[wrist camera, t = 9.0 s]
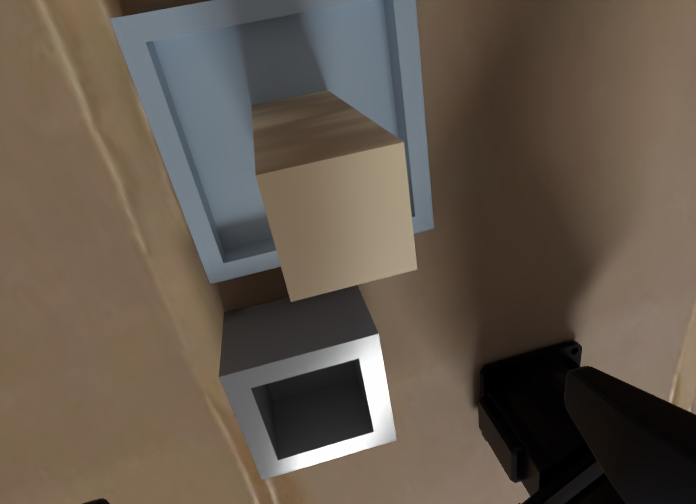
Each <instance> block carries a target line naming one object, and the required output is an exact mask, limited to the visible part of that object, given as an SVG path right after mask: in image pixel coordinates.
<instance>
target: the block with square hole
mask: <svg viewBox="0 0 696 504" xmlns="http://www.w3.org/2000/svg"><path fill="white" fill-rule="evenodd" d="M219 378H220V381H221V383H222V386H223V388H224V390H225V393H226V395H227V397H228V400H229V402H230V405H231V407H232V409H233V412H234V414H235V417H236V419H237V421H238V424H239V426H240V429H241V431H242V433H243V436H244V438H245V441H246V443H247V445H248V448H249V450H250V453H251V455H252V457H253V460H254V462H255V464H256V467H257V469H258V472H259V474H260V476H261V479H262V480H264V479H268V478H271V477H274V476H278V475H281V474H284V473H288V472H291V471H294V470H298V469H301V468H304V467H308V466H311V465H314V464H318V463H321V462H324V461H328V460H331V459H335V458H338V457H341V456H345V455H348V454H351V453H355V452H358V451H361V450H365V449H368V448H371V447H375V446H378V445H381V444H385V443H388V442H391V441H395V440H397V439H396V433H395V427H394V422H393V416H392V410H391V404H390V398H389V392H388V386H387V380H386V374H385V368H384V363H383V357H382V351H381V345H380V339H379V334H378V331H377V329H376V327H375V324H374V322H373V320H372V318H371V315H370V313H369V311H368V309H367V306H366V304H365V302H364V299H363V297H362V295H361V293H360V290H359V288H358V286H357V285H355V286H351V287H347V288H343V289H340V290H336V291H332V292H328V293H324V294H320V295H316V296H312V297H308V298H305V299H301V300H297V301H293V302H291V301H290V297H286V298H282V299H278V300H274V301H270V302H266V303H262V304H259V305H255V306H251V307H247V308H243V309H239V310H235V311H231V312H227V313H224V323H223V335H222V347H221V359H220V371H219Z"/></svg>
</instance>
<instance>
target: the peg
mask: <svg viewBox="0 0 696 504" xmlns="http://www.w3.org/2000/svg"><path fill="white" fill-rule="evenodd" d="M251 106H252V123H253V140H254V157H255V174H256V179H257V182H258V186H259V190H260V193H261V197H262V200H263V204H264V207H265V211H266V215H267V218H268V222H269V225H270V229H271V233H272V236H273V240H274V243H275V247H276V251H277V254H278V258H279V261H280V265H281V268H282V272H283V276H284V279H285V283H286V286H287V290H288V294H289V297H290V301H291V302H293V301H297V300H301V299H305V298H308V297H312V296H316V295H320V294H324V293H328V292H332V291H336V290H340V289H343V288H347V287H351V286H355V285H359V284H363V283H367V282H371V281H375V280H378V279H382V278H386V277H390V276H394V275H398V274H402V273H406V272H410V271H413V270H417V262H416V252H415V243H414V233H413V224H412V214H411V205H410V195H409V185H408V176H407V166H406V157H405V147H404V142H403V141H402V140H400V139H399V138H397V137H396V136H394V135H393V134H391V133H390V132H388V131H387V130H385V129H384V128H382V127H381V126H380V125H378V124H377V123H375V122H374V121H372V120H371V119H369V118H368V117H366V116H365V115H363V114H362V113H360V112H359V111H358V110H356V109H355V108H353V107H352V106H350V105H349V104H347V103H346V102H344V101H343V100H341V99H340V98H338V97H337V96H336V95H334V94H333V93H331V92H330V91H328V90H324V91H319V92H314V93H309V94H304V95H300V96H295V97H290V98H285V99H280V100H275V101H271V102H266V103H261V104H256V105H251Z"/></svg>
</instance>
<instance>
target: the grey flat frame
mask: <svg viewBox="0 0 696 504" xmlns="http://www.w3.org/2000/svg"><path fill="white" fill-rule="evenodd" d="M110 21H111V24H112V26H113V29H114V32H115V34H116V37H117V39H118V42H119V45H120V47H121V50H122V53H123V55H124V58H125V61H126V63H127V66H128V69H129V71H130V74H131V76H132V79H133V82H134V84H135V87H136V90H137V92H138V95H139V98H140V100H141V103H142V105H143V108H144V111H145V113H146V116H147V119H148V121H149V124H150V127H151V129H152V132H153V135H154V137H155V140H156V142H157V145H158V148H159V150H160V153H161V156H162V158H163V161H164V164H165V166H166V169H167V172H168V174H169V177H170V179H171V182H172V185H173V187H174V190H175V193H176V195H177V198H178V201H179V203H180V206H181V208H182V211H183V214H184V216H185V219H186V222H187V224H188V227H189V230H190V232H191V235H192V238H193V240H194V243H195V245H196V248H197V251H198V253H199V256H200V259H201V261H202V264H203V267H204V269H205V272H206V274H207V277H208V280H209V282H210V284H213V283H217V282H221V281H225V280H229V279H233V278H237V277H241V276H245V275H249V274H253V273H257V272H261V271H265V270H270V269H274V268H278V267H281V265H280V261H279V258H278V254H277V251H276V247H275V243H274V240H273V236H272V233H271V229H270V225H269V222H268V218H267V215H266V211H265V207H264V204H263V200H262V197H261V193H260V190H259V186H258V182H257V179H256V174H255V157H254V140H253V123H252V106H251V105H256V104H261V103H266V102H271V101H275V100H280V99H285V98H290V97H295V96H300V95H304V94H309V93H314V92H319V91H324V90H328V91H330V92H331V93H333V94H334V95H336V96H337V97H338V98H340V99H341V100H343V101H344V102H346V103H347V104H349V105H350V106H352V107H353V108H355V109H356V110H358V111H359V112H360V113H362V114H363V115H365V116H366V117H368V118H369V119H371V120H372V121H374V122H375V123H377V124H378V125H380V126H381V127H382V128H384V129H385V130H387V131H388V132H390V133H391V134H393V135H394V136H396V137H397V138H399V139H400V140H402V141H403V142H404V147H405V157H406V166H407V176H408V185H409V195H410V205H411V214H412V224H413V233H418V232H422V231H426V230H430V229H434V222H433V209H432V197H431V185H430V172H429V160H428V147H427V135H426V122H425V110H424V97H423V85H422V73H421V60H420V48H419V35H418V23H417V10H416V0H211V1H206V2H200V3H195V4H189V5H184V6H178V7H173V8H167V9H162V10H156V11H151V12H145V13H139V14H134V15H128V16H123V17H117V18H112V19H110Z"/></svg>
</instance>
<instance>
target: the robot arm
mask: <svg viewBox="0 0 696 504" xmlns="http://www.w3.org/2000/svg"><path fill="white" fill-rule="evenodd" d="M581 353H582V346H581V345H580V344H579V343H577V342H576V341H574V340H573V341H568V342H565V343H561V344H558V345H554V346H551V347H547V348H544V349H541V350H537V351H534V352H530V353H527V354H523V355H520V356H516V357H513V358H509V359H506V360H502V361H499V362H495V363H492V364H488V365H486V366H484V367H483V368H482V369H481V371H480V384H481V397H480V398H479V401H478V411H479V428H480V429H481V431H482V435H483V437H484V439H485V440H486V441H488V443H489V445H490V446H491V448H492V450H493V451H494V453H495V455H496V457H497V458H498V460H499V462H500V463H501V465H502V467H503V468H504V470H505V472H506V473H507V475H508V477H509V478H510V480H511V481H513V482H515V483H517V482H520V481H521V482H522V483H523V485H524V487H525V488H526V490H527V491H528V493H529V495H530V496H531V497H529V498H528V499H527V500H526V501H524V502H523V503H522V504H696V415H695V414H693V413H691V412H689V411H687V410H684V409H682V408H680V407H678V406H676V405H674V404H671V403H669V402H667V401H665V400H663V399H661V398H658V397H656V396H654V395H652V394H650V393H648V392H645V391H643V390H641V389H639V388H637V387H635V386H632V385H630V384H628V383H626V382H624V381H622V380H619V379H617V378H615V377H613V376H611V375H608V374H606V373H604V372H602V371H600V370H598V369H595V368H593V367H590V366H583V367H580V362H581ZM83 504H109V502H108V501H107V500H105V499H103V498H102V499H97V500H93V501H90V502H86V503H83ZM519 504H520V503H519Z"/></svg>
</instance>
